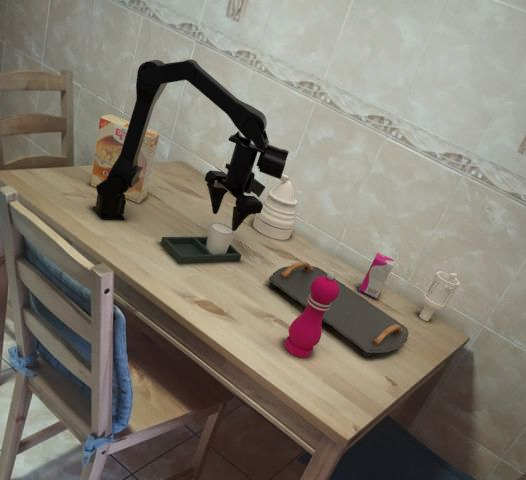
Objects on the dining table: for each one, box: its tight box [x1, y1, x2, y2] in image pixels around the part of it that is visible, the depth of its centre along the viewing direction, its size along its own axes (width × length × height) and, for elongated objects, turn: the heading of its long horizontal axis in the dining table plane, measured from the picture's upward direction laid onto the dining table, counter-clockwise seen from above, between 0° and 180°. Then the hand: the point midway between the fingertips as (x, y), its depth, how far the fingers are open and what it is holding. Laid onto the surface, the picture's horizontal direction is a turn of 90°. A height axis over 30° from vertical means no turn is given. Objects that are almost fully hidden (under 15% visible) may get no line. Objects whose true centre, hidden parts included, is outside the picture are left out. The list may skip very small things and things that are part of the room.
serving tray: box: [268, 261, 409, 359], centre depth 132 cm, size 39×23×6 cm, turn 49°
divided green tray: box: [160, 236, 242, 265], centre depth 135 cm, size 19×10×2 cm, turn 128°
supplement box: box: [358, 252, 396, 300], centre depth 148 cm, size 6×6×12 cm
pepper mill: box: [284, 271, 339, 358], centre depth 108 cm, size 7×7×20 cm
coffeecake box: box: [90, 113, 160, 204], centre depth 145 cm, size 15×7×20 cm, turn 82°
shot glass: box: [206, 222, 235, 254], centre depth 137 cm, size 7×7×7 cm
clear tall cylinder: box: [419, 270, 461, 322], centre depth 146 cm, size 7×7×15 cm
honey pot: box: [252, 173, 299, 241], centre depth 161 cm, size 13×13×18 cm
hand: (224, 222), depth 134 cm, fingers open, 9 cm apart
